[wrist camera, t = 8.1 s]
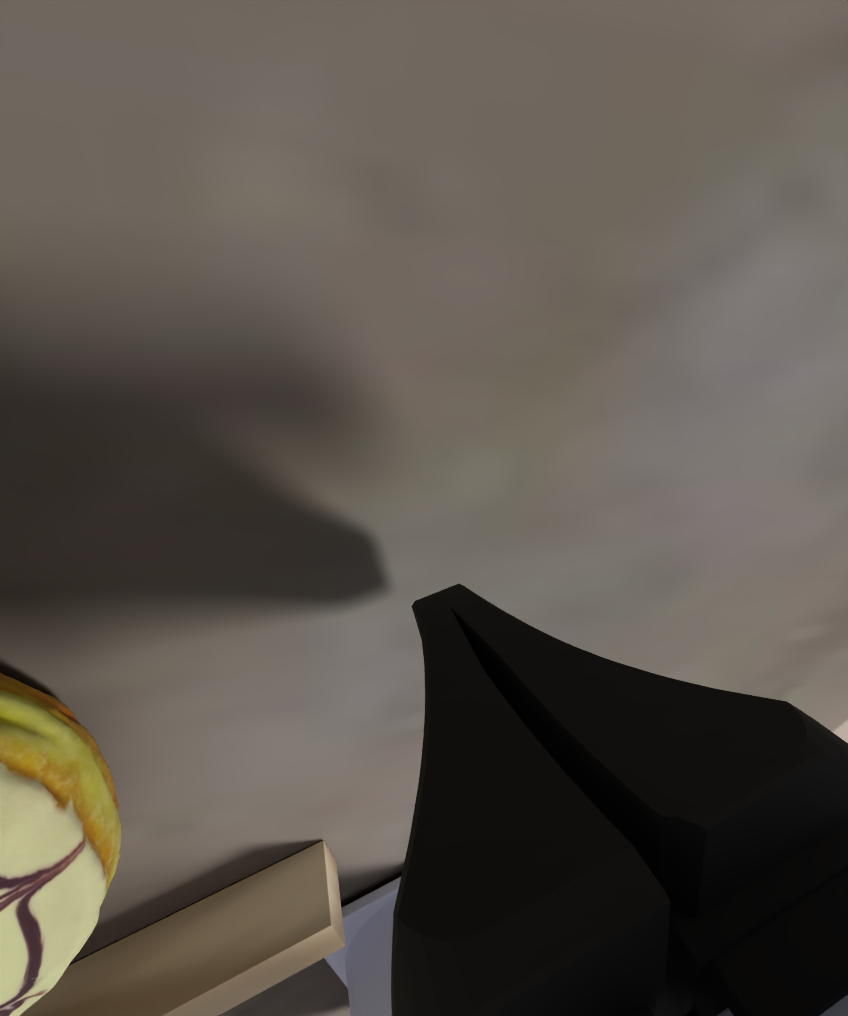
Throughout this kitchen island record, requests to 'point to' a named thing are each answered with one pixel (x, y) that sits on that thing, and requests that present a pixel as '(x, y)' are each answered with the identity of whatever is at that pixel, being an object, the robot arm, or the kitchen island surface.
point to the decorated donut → (49, 841)
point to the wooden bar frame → (212, 948)
